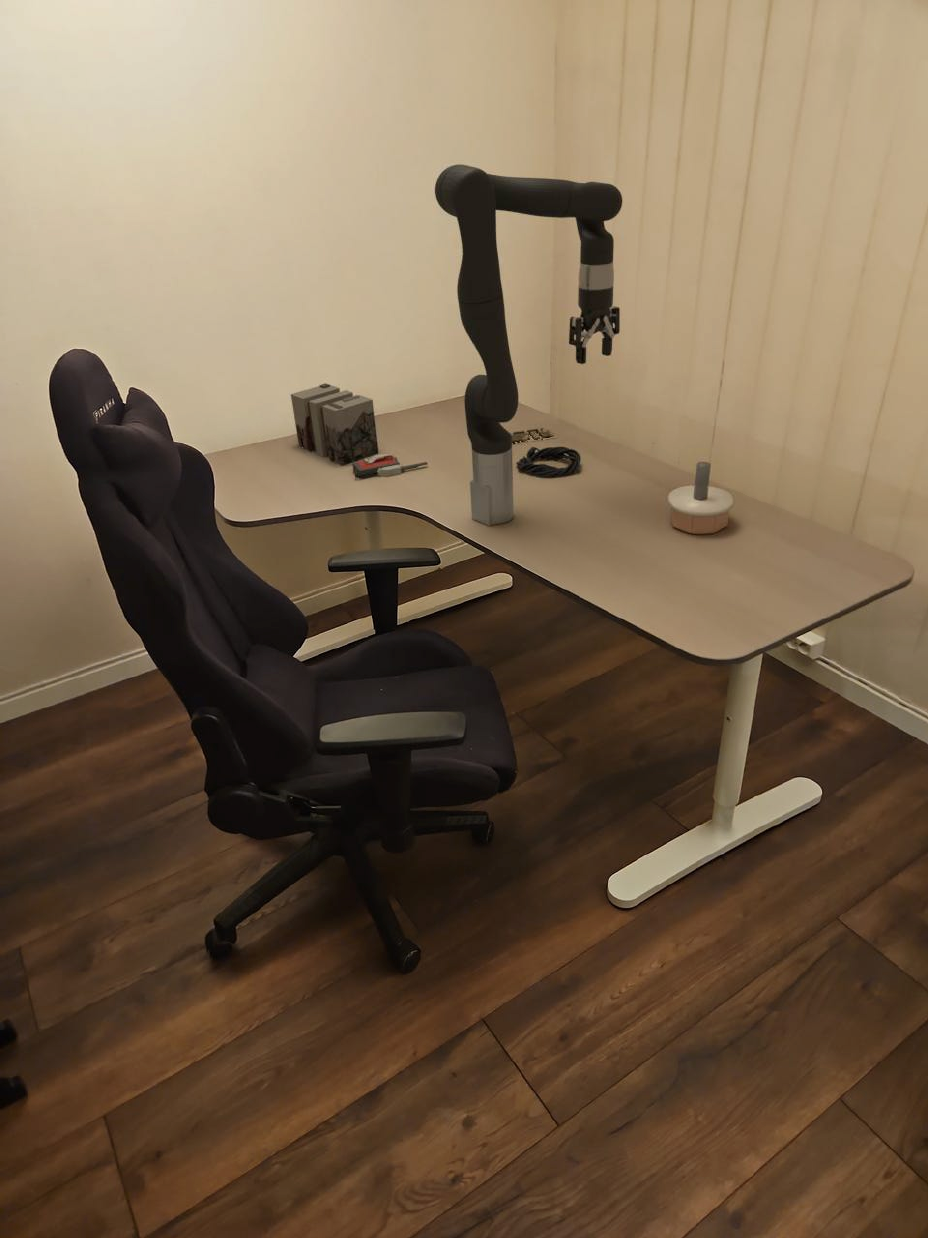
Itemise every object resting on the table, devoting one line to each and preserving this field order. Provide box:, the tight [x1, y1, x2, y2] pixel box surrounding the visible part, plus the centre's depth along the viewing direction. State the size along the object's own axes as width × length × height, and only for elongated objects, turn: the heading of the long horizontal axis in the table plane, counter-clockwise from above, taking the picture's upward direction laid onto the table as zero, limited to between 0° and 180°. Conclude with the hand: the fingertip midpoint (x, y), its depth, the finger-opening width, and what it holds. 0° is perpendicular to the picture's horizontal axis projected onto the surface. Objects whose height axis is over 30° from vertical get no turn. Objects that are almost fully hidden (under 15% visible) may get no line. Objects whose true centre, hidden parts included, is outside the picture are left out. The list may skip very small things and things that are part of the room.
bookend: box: [290, 383, 379, 467], centre depth 248 cm, size 16×25×16 cm, turn 42°
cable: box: [516, 446, 581, 478], centre depth 232 cm, size 17×14×4 cm
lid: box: [667, 461, 734, 516], centre depth 196 cm, size 14×14×9 cm
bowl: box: [669, 507, 730, 535], centre depth 200 cm, size 12×12×5 cm
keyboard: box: [510, 427, 555, 444], centre depth 253 cm, size 22×9×2 cm, turn 104°
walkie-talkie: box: [351, 452, 428, 480], centre depth 237 cm, size 9×4×20 cm
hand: (594, 359), depth 200 cm, fingers open, 8 cm apart
